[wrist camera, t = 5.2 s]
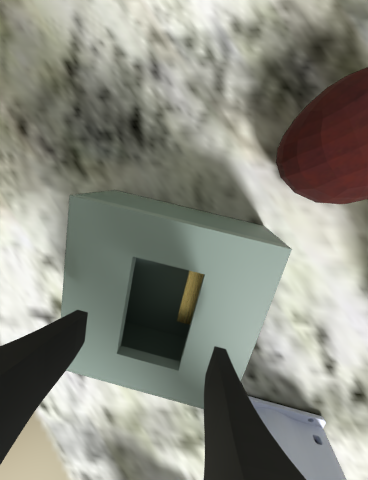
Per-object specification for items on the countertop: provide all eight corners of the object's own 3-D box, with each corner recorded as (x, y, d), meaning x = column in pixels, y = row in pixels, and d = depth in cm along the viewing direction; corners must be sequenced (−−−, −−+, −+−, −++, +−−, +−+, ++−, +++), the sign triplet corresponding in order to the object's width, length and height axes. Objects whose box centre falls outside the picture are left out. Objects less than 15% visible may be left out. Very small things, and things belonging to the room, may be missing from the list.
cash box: (264, 225, 18) (291, 249, 12) (222, 349, 22) (227, 415, 16) (114, 189, 19) (69, 195, 13) (98, 316, 23) (57, 368, 16)
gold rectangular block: (192, 257, 19) (242, 269, 19) (180, 305, 21) (226, 317, 21) (190, 267, 17) (247, 282, 17) (176, 321, 18) (229, 335, 18)
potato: (394, 176, 16) (494, 174, 11) (282, 216, 18) (317, 233, 12) (375, 71, 15) (479, 3, 9) (254, 125, 17) (279, 97, 11)
